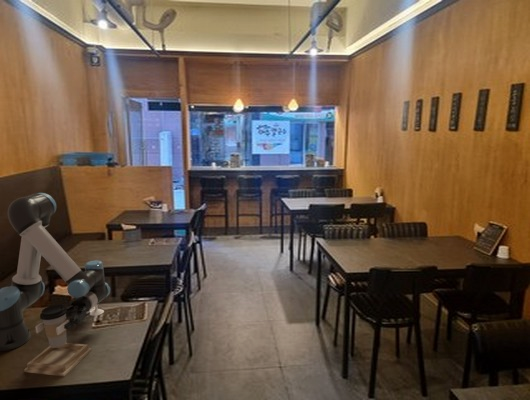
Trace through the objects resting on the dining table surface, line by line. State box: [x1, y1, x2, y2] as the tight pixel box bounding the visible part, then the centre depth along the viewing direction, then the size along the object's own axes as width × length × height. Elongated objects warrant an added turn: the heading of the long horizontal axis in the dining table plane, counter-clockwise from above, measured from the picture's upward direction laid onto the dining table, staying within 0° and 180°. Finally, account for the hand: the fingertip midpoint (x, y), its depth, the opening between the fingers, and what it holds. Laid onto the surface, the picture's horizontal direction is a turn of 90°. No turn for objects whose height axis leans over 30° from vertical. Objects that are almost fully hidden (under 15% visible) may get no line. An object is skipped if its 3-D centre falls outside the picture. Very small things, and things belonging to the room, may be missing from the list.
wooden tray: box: [23, 342, 93, 377], centre depth 151 cm, size 17×17×3 cm
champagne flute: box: [89, 304, 105, 317], centre depth 188 cm, size 7×7×24 cm
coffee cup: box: [39, 304, 68, 348], centre depth 149 cm, size 9×9×15 cm
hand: (47, 330), depth 144 cm, fingers closed on coffee cup, 8 cm apart
